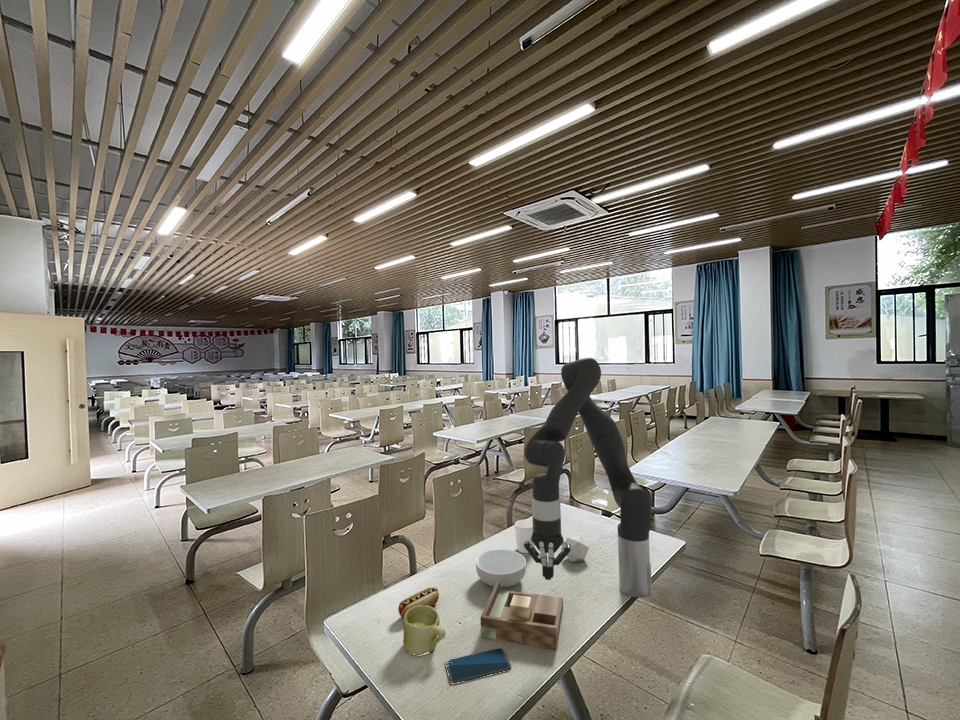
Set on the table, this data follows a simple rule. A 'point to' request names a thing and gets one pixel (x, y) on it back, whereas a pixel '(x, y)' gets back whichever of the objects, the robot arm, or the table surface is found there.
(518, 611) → the maple block
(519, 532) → the white cup
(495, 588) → the box
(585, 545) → the die
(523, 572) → the cereal bowl
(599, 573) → the table surface
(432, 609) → the mug
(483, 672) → the smartphone
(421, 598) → the hot dog
